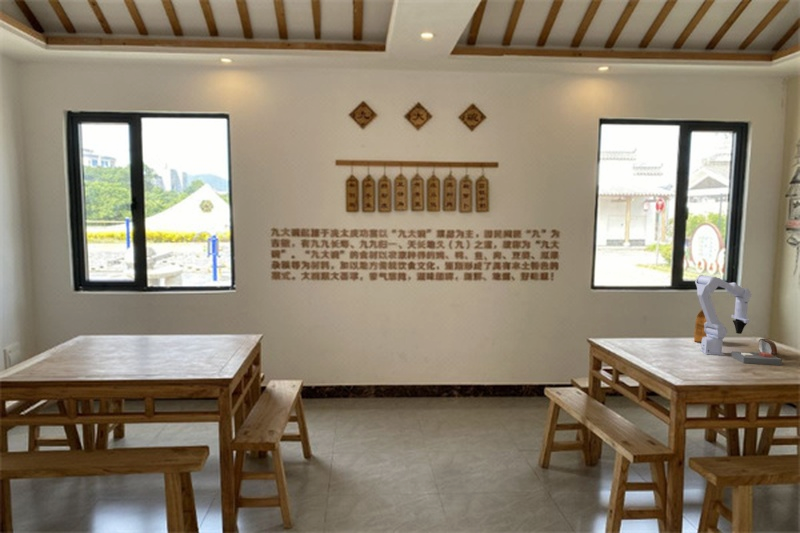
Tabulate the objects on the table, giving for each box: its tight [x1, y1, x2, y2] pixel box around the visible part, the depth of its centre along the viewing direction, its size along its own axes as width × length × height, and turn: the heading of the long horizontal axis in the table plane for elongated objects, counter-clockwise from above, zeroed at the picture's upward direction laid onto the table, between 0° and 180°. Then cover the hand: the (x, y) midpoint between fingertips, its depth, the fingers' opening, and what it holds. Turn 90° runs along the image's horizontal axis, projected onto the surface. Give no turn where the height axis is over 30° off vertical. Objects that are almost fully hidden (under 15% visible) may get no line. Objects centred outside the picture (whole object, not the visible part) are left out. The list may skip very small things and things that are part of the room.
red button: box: [758, 351, 772, 357], centre depth 265 cm, size 4×4×4 cm
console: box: [731, 351, 783, 366], centre depth 266 cm, size 18×12×3 cm, turn 83°
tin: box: [758, 338, 778, 357], centre depth 278 cm, size 15×3×8 cm, turn 168°
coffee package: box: [693, 309, 707, 343], centre depth 304 cm, size 10×12×22 cm
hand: (738, 333), depth 283 cm, fingers closed
